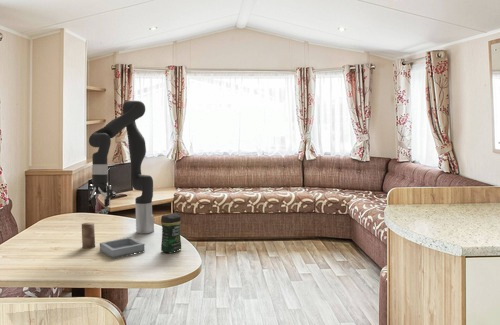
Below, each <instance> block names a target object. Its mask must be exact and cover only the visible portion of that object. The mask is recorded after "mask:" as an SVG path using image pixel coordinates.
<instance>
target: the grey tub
mask: <svg viewBox="0 0 500 325" xmlns="http://www.w3.org/2000/svg"><path fill="white" fill-rule="evenodd" d="M145 250H146V249H145V243H143V242H141V241H139V240H138V239H135V238H133V237H131V236H129V237H124V238H119V239H113V240H108V241H104V242H99V251H100V252H101V253H102V254H104V255H106V256H107V257H109V258H111V259H113V260H114V259H118V257H119V258H123V257H127V255H128V256H132V255H131V254H133V255H135V254H134V253H137V254H140V253H139V252H142V253H144V252H143V251H145ZM122 256H123V257H122Z"/></svg>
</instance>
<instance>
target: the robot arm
mask: <svg viewBox="0 0 500 325" xmlns="http://www.w3.org/2000/svg"><path fill="white" fill-rule="evenodd" d="M145 113H146V105H145V104H144V102H143V101H141V100H126V101H124V102H123V104H122V115H119V116H118V117H115V118H113V119H111V120H110V121H109V122H107V124H106V125H105V126H104V127H102V128H99V129H98V130H96V131H93V133H92V134H90V135H89V138H88V143H89V145H90V146H91V147H93V148H98V149H97V151H96V152H94V153H93V154H92V156H91V157H92V160H91V161H92V164H91V166H92V167H91V183H92V184H88V185H87V186H88V187H87V197H88V198H90V199H91V200H90V201H91V206H92V207H95V206H97V196H98V195H101V196H102V197H103V198H104V199H103V200H104V208H107V207H109V206H110V199H111V198H113V197H114V195H113V186H112V185H108V182H109V167H108V155H109V152H110V148H111V144H112V141H111V140H112V139H113V138H115V137H116V136H117V135H118V134H119V133H120V132H121V131H122V130H124V129H126V135H127V143H128V152H129V158H130V176H131V177H130V178H131V180H130V182H131V186H132V188H133V190H135V191H141V195H140V196H136V198H135V233H136V234H150V233H153V232H155V215H154V214H153V198H154V180H153V177H152V176H151V175H150V174H149V175H148V174H142V164H143V162H144V160H145V156H146V154H147V147H146V140H145V137H144V136H143V134H142V133H141V131H140V130H139V128H138V127H137V123H136V121H137V120H138V119H140V118H142V117H143V116H144V115H145Z"/></svg>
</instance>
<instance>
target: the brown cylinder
mask: <svg viewBox="0 0 500 325" xmlns="http://www.w3.org/2000/svg"><path fill="white" fill-rule="evenodd" d="M95 232H96V231H95V223H94V222H84V223H81V242H82V245H81V246H82V249H85V250H90V249H94V248H95V247H96V239H95V238H96V236H95Z"/></svg>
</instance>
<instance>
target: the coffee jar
mask: <svg viewBox="0 0 500 325" xmlns="http://www.w3.org/2000/svg"><path fill="white" fill-rule="evenodd" d="M181 223H182V217H181V214H180V213H177V212H172V213H169V214H163V215H162V216H161V220H160V224H161V230H162V232H161V244H160V245H161V247H160V251H161V252H162V251H163V253H164V252H173V253H175V252H174V251H177V250H179V249H181V250H182V241H181ZM177 252H178V251H177Z"/></svg>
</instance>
